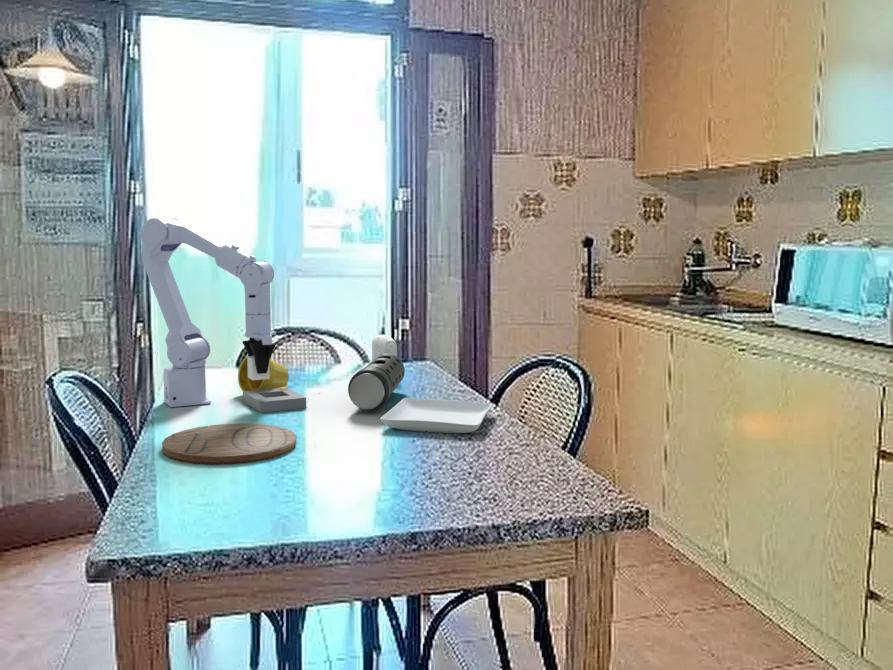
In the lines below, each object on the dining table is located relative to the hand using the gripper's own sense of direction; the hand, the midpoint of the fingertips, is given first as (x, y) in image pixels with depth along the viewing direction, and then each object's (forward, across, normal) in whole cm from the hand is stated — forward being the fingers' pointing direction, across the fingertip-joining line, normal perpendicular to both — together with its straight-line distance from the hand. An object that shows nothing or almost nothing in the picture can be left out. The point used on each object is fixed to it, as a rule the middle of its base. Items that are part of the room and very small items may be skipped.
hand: (259, 371), depth 192 cm
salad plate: (+9, -32, -30) cm, 45 cm away
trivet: (+9, -31, +15) cm, 36 cm away
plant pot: (+5, +17, -10) cm, 20 cm away
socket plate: (+8, +2, -4) cm, 9 cm away
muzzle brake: (+9, -7, -27) cm, 29 cm away
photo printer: (+9, +21, -42) cm, 47 cm away
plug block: (+2, 0, 0) cm, 2 cm away
